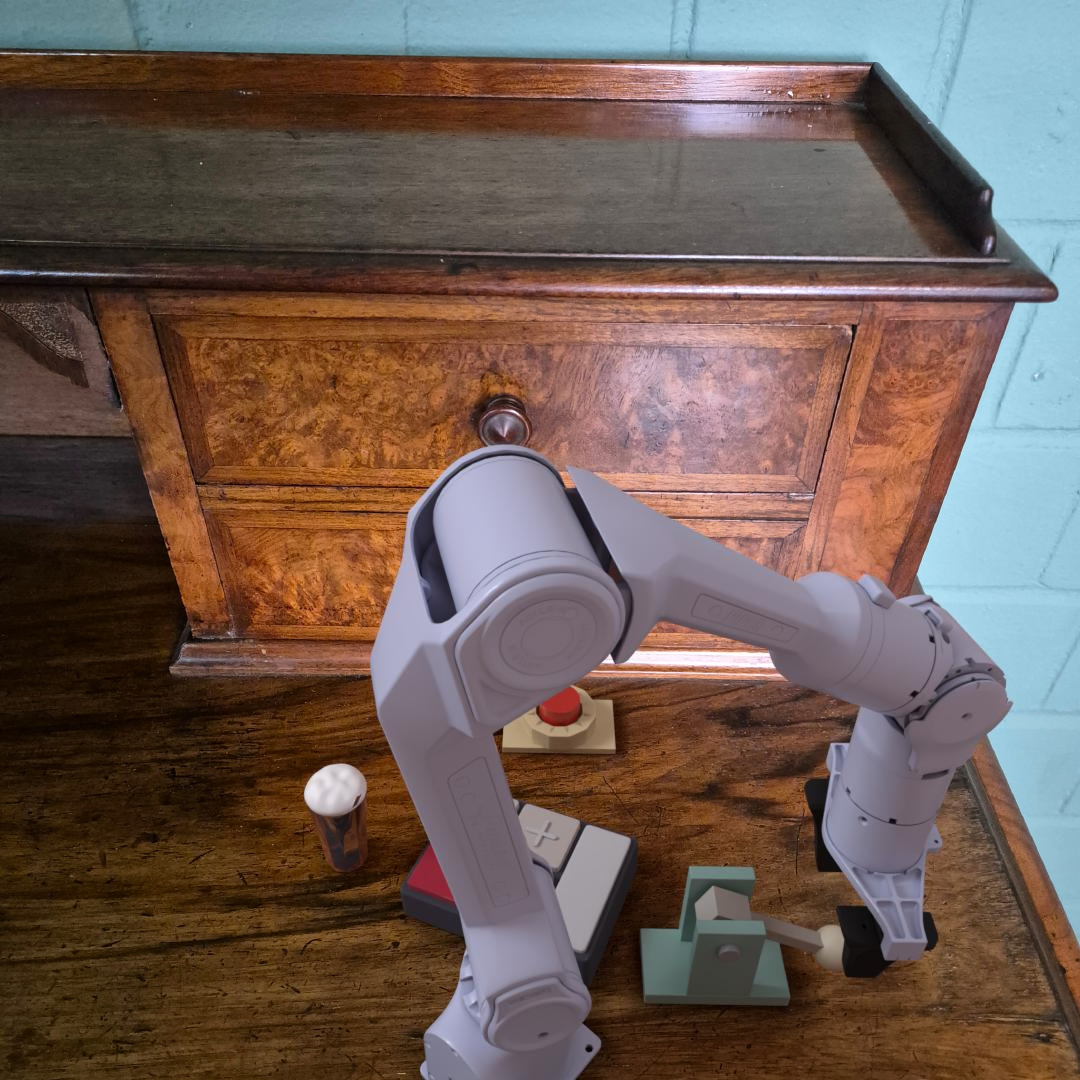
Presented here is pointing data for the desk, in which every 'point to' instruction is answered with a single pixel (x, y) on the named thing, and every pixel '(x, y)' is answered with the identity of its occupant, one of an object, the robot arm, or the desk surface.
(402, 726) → the robot arm
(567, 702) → the stop button
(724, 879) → the bracket
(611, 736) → the button box
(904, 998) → the desk surface
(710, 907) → the lever
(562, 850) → the calculator
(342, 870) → the milkshake
